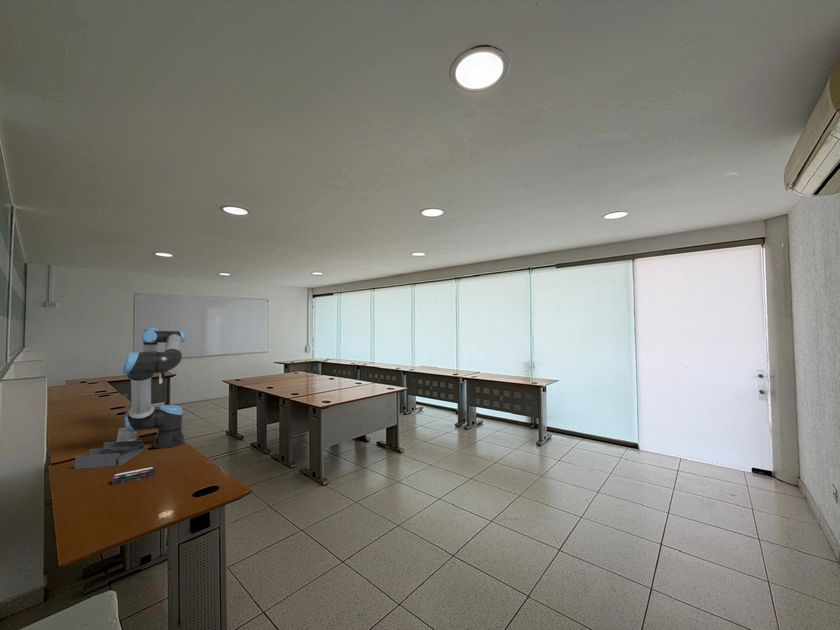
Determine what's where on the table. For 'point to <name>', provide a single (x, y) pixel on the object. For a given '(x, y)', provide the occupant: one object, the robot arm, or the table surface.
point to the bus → (133, 475)
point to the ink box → (126, 435)
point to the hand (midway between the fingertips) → (148, 383)
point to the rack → (110, 454)
